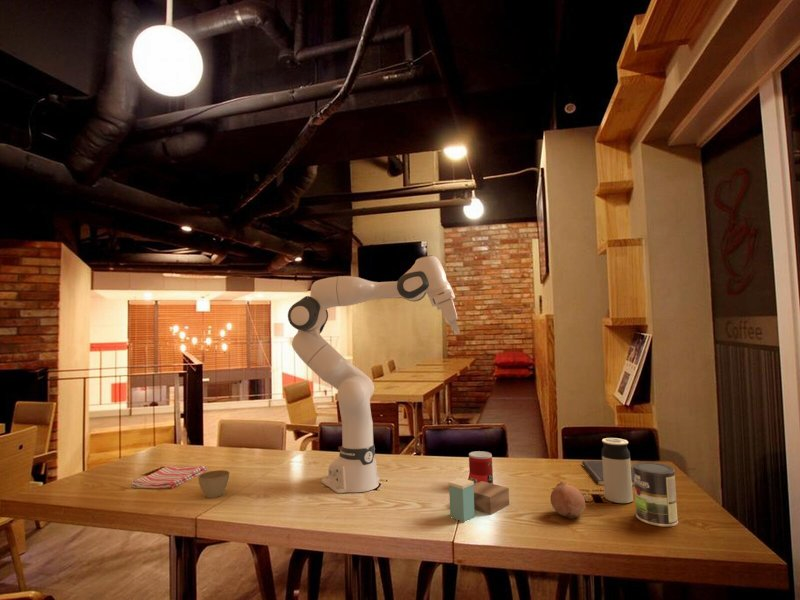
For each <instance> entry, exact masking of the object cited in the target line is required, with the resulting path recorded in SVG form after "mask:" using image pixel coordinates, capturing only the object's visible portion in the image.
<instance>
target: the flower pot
mask: <svg viewBox="0 0 800 600" xmlns="http://www.w3.org/2000/svg"><path fill="white" fill-rule="evenodd" d="M230 474H231V473H230V471H229V470H224V469H222V470H221V469H220V470H210V471H206V472H205V471H204V472H203V473H201V474H199V475H197V478H198V482H199V483H198V484H199V486H200V490H201V492H202V493H203V495H204V496H205V498H207V499H214V498H218V497H220V496H222V495H223V493H224V492H225V490H226V487H227V486H228V485H227V484H229V483H228V482H229V479H230Z"/></svg>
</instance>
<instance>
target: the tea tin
mask: <svg viewBox="0 0 800 600" xmlns="http://www.w3.org/2000/svg"><path fill="white" fill-rule="evenodd" d="M473 484H474V481H470V479H466V478H461V477H457V478H455V479H454V480H453V479H452V480H451V481H448V487H449V488H448V489H449V494H448V495H449V514H450V515H449V517H452V518H455V519H457V520H456V521H458V520H460V521H459V522H461V521H462V522H461V523H463V522H465V521H467V520H469V521H470V520H472V519H474V518H475V516H476V515H475V511H476V510H475V509H474V487H473ZM452 518H451V519H452ZM455 519H454V520H455ZM467 522H468V521H467ZM465 523H466V522H465Z"/></svg>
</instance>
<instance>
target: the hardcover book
mask: <svg viewBox="0 0 800 600" xmlns="http://www.w3.org/2000/svg"><path fill="white" fill-rule="evenodd" d="M581 464H583V465H584V466H583V465H582V466H583V468H584V467H585V468H586V469H585V468H584V469H585V471H586V472H587V471H588V472H587V473H588V474H589V475H590V477H591V479H593V481H594V482H595V483H596V484H597V486H600V485H601V486H602V485H603V486H604V479H603V463H602V460H582V461H581ZM631 478H632V487H633V486H634V487H635V484H634V469H633V466H631Z"/></svg>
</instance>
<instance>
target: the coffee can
mask: <svg viewBox="0 0 800 600" xmlns="http://www.w3.org/2000/svg"><path fill="white" fill-rule="evenodd" d="M632 468H633V469H634V484H635V486H634V496H635V497H634V498H635V516H636V518H637V519H638V520H639V521H641V522H643V523H645V524H648V525H651V526H656V527H661V528H662V527H664V528H665V527H666V528H667V527H668V528H669V527H675V526H677V525H678V524H679V520H678V508H677V507H678V505H677V492H676V491H677V490H676V489H677V488H676V476H675V473H676V470H675V468H674V467H672V466H670V465H667V464H663V463H658V462H652V461H651V462H650V461H649V462H647V461H640V462H635V463H633V464H632Z"/></svg>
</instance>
